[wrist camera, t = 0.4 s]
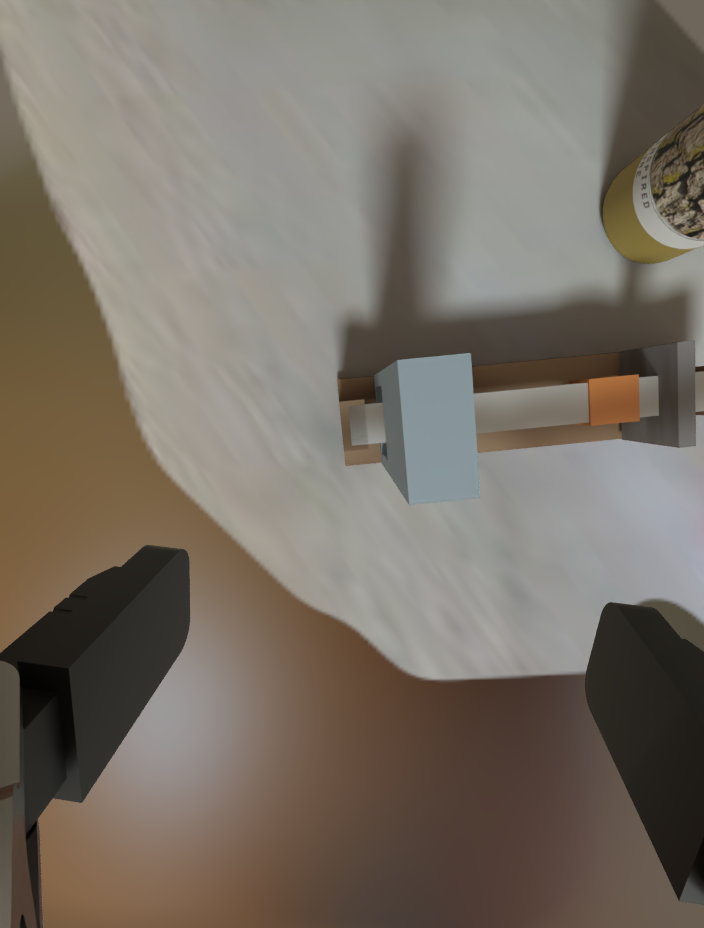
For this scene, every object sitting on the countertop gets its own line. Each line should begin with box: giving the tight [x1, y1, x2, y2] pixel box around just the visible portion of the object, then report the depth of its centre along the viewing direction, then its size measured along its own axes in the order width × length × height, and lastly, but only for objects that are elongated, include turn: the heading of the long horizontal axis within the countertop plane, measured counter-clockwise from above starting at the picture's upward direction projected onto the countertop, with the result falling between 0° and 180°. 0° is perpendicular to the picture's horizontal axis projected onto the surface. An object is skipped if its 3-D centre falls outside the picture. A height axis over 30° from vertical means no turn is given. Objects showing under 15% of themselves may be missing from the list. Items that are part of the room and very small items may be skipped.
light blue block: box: [374, 353, 480, 505], centre depth 28 cm, size 6×3×14 cm, turn 6°
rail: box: [337, 341, 704, 466], centre depth 33 cm, size 6×24×7 cm, turn 96°
